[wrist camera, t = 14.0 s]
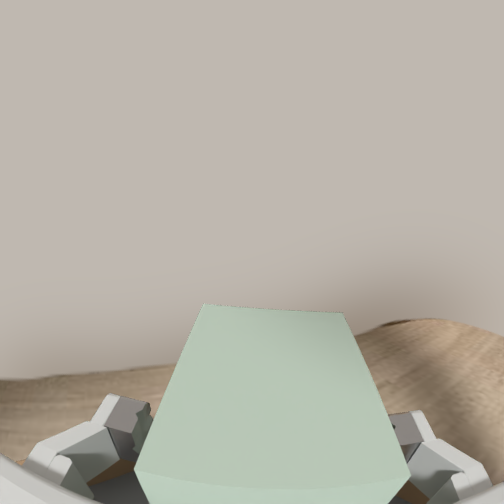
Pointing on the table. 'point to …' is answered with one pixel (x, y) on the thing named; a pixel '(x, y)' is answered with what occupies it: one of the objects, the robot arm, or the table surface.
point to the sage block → (271, 416)
